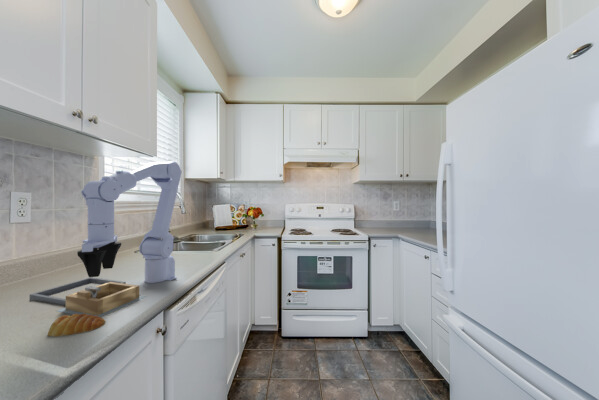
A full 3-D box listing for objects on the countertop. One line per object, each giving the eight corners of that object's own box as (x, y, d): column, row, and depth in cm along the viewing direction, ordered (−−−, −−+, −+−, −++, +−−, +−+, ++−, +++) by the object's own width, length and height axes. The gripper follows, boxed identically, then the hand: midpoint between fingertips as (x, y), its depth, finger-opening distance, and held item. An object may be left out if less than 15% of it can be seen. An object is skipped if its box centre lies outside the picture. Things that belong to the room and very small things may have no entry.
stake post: (90, 305, 65) (90, 286, 65) (101, 307, 64) (101, 287, 64) (83, 308, 64) (84, 288, 64) (95, 310, 63) (95, 289, 63)
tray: (90, 283, 85) (90, 277, 85) (125, 288, 80) (125, 281, 80) (29, 302, 69) (29, 294, 69) (68, 309, 65) (68, 301, 65)
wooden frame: (110, 293, 74) (110, 276, 74) (139, 297, 71) (139, 280, 71) (65, 309, 63) (65, 290, 63) (97, 315, 60) (97, 295, 60)
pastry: (111, 322, 59) (111, 307, 59) (94, 338, 52) (94, 321, 52) (66, 326, 57) (66, 310, 57) (42, 343, 50) (42, 325, 50)
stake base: (111, 294, 76) (111, 291, 76) (146, 299, 72) (146, 296, 72) (55, 314, 62) (55, 310, 62) (95, 322, 58) (95, 318, 58)
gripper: (97, 221, 73) (98, 266, 73) (66, 227, 59) (66, 282, 59) (124, 220, 75) (124, 264, 75) (100, 226, 61) (101, 279, 61)
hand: (101, 272), depth 67 cm, fingers open, 7 cm apart
